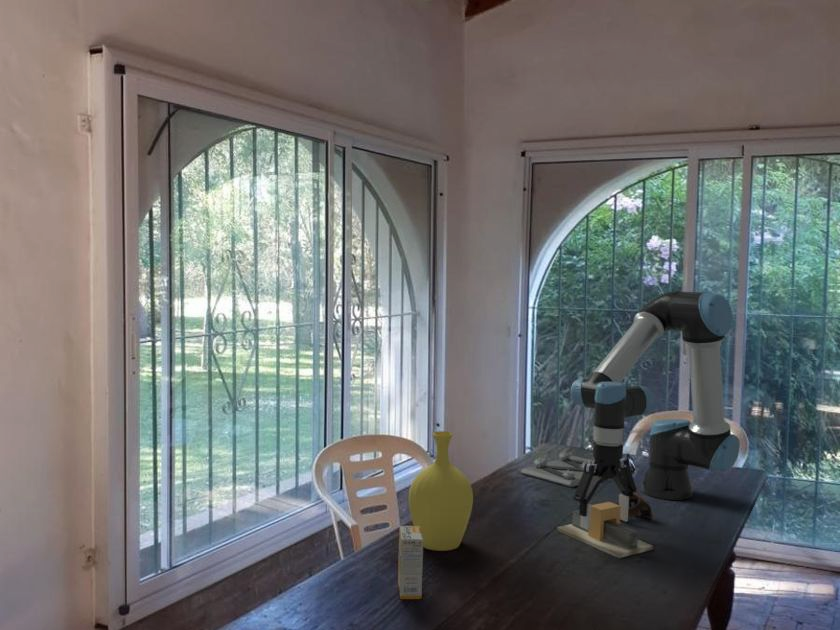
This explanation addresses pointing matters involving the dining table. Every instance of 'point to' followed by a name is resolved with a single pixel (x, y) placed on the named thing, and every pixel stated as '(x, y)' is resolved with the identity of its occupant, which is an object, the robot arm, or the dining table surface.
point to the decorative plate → (559, 470)
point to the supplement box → (410, 562)
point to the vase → (441, 500)
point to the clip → (602, 518)
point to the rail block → (607, 537)
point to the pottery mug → (639, 507)
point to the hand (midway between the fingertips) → (604, 524)
